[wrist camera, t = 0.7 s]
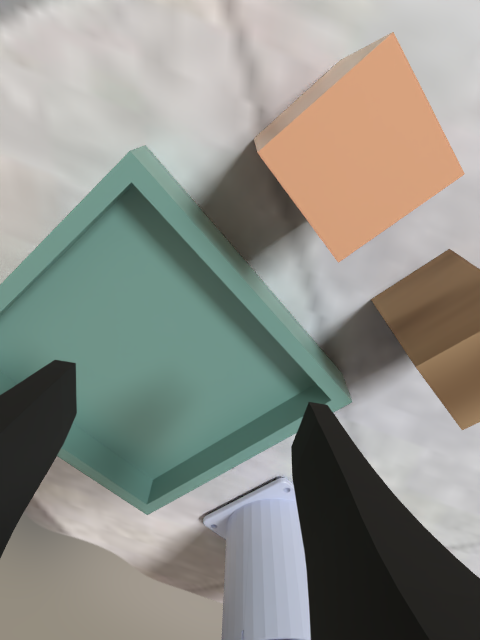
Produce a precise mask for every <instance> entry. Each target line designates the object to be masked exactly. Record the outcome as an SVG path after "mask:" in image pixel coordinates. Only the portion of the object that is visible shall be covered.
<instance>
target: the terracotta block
mask: <svg viewBox="0 0 480 640" xmlns="http://www.w3.org/2000/svg"><path fill="white" fill-rule="evenodd" d="M254 142H255V145H256V149H257V153H258V154H259V155H260V157H261V158H262V159H263V161H264V162H265V164H266V165H267V166H268V168H269V169H270V170H271V172H272V173H273V174H274V176H275V177H276V179H277V180H278V181H279V183H280V184H281V185H282V187H283V188H284V189H285V191H286V192H287V193H288V195H289V196H290V198H291V199H292V200H293V202H294V203H295V204H296V206H297V207H298V208H299V210H300V211H301V212H302V214H303V215H304V217H305V218H306V219H307V221H308V222H309V223H310V225H311V226H312V227H313V229H314V230H315V232H316V233H317V234H318V236H319V237H320V238H321V240H322V241H323V242H324V244H325V245H326V246H327V248H328V249H329V251H330V252H331V253H332V255H333V256H334V257H335V259H336V260H337V261H338V262H340V261H341V260H343V259H344V258H346V257H347V256H348V255H350V254H351V253H353V252H354V251H356V250H357V249H358V248H360V247H361V246H363V245H364V244H366V243H367V242H368V241H370V240H371V239H373V238H374V237H376V236H377V235H378V234H380V233H381V232H383V231H384V230H386V229H387V228H388V227H390V226H391V225H393V224H394V223H396V222H397V221H398V220H400V219H401V218H403V217H404V216H406V215H407V214H408V213H410V212H411V211H413V210H414V209H416V208H417V207H418V206H420V205H421V204H423V203H424V202H426V201H427V200H428V199H430V198H431V197H433V196H434V195H436V194H437V193H438V192H440V191H441V190H443V189H444V188H446V187H447V186H448V185H450V184H451V183H453V182H454V181H456V180H457V179H458V178H460V177H461V176H463V175H464V172H463V170H462V168H461V166H460V164H459V162H458V160H457V158H456V156H455V154H454V152H453V150H452V148H451V146H450V144H449V142H448V140H447V138H446V136H445V134H444V132H443V130H442V128H441V126H440V124H439V122H438V120H437V118H436V116H435V114H434V112H433V110H432V108H431V106H430V104H429V102H428V100H427V98H426V96H425V94H424V92H423V90H422V88H421V86H420V84H419V82H418V80H417V78H416V76H415V74H414V72H413V70H412V68H411V66H410V64H409V62H408V60H407V58H406V56H405V54H404V52H403V50H402V48H401V46H400V44H399V42H398V40H397V38H396V36H395V34H394V33H393V32H392V33H390V34H389V35H387V36H385V37H383V38H381V39H379V40H377V41H375V42H373V43H372V44H370V45H368V46H366V47H364V48H362V49H360V50H358V51H356V52H355V53H353V54H351V55H349V56H347V57H345V58H343V59H341V60H340V61H339V62H338V63H337V64H336V65H335V66H333V67H332V68H331V69H330V70H329V71H328V72H327V73H326V74H325V75H324V76H322V77H321V78H320V79H319V80H318V81H317V82H316V83H315V84H314V85H312V86H311V87H310V88H309V89H308V90H307V91H306V92H305V93H304V94H303V95H301V96H300V97H299V98H298V99H297V100H296V101H295V102H294V103H293V104H291V105H290V106H289V107H288V108H287V109H286V110H285V111H284V112H283V113H282V114H280V115H279V116H278V117H277V118H276V119H275V120H274V121H273V122H272V123H270V124H269V125H268V126H267V127H266V128H265V129H264V130H263V131H262V132H261V133H259V134H258V135H257V136H256V137H255V138H254Z"/></svg>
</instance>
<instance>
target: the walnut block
mask: <svg viewBox="0 0 480 640" xmlns="http://www.w3.org/2000/svg"><path fill="white" fill-rule="evenodd" d="M371 300H372V302H373V303H374V305H375V306H376V308H377V309H378V311H379V313H380V314H381V316H382V317H383V319H384V320H385V322H386V323H387V325H388V326H389V328H390V329H391V331H392V332H393V334H394V335H395V337H396V338H397V340H398V341H399V343H400V344H401V346H402V347H403V349H404V350H405V352H406V353H407V355H408V356H409V358H410V359H411V361H412V362H413V364H414V365H415V367H416V368H417V370H418V371H419V372H420V374H421V375H422V376H423V378H424V379H425V380H426V382H427V383H428V384H429V386H430V387H431V389H432V390H433V391H434V393H435V394H436V395H437V397H438V398H439V399H440V401H441V402H442V404H443V405H444V406H445V408H446V409H447V410H448V412H449V413H450V414H451V416H452V417H453V418H454V420H455V421H456V423H457V424H458V425H459V427H460V428H461V429H462V430H464V429H466V428H468V427H470V426H472V425H474V424H476V423H479V422H480V269H478V268H477V267H475V266H474V265H473V264H471V263H470V262H468V261H467V260H465V259H464V258H462V257H461V256H459V255H458V254H456V253H455V252H453V251H452V250H450V249H449V250H447V251H445V252H444V253H442V254H441V255H439V256H438V257H436V258H435V259H433V260H431V261H430V262H428V263H427V264H425V265H424V266H422V267H421V268H419V269H417V270H416V271H414V272H413V273H411V274H410V275H408V276H407V277H405V278H403V279H402V280H400V281H399V282H397V283H396V284H394V285H393V286H391V287H389V288H388V289H386V290H385V291H383V292H382V293H380V294H379V295H377V296H375V297H374V298H372V299H371Z"/></svg>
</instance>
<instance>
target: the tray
mask: <svg viewBox="0 0 480 640" xmlns="http://www.w3.org/2000/svg"><path fill="white" fill-rule="evenodd" d="M54 360H60V361H67V362H73V363H76V397H77V414H76V417H75V419H74V421H73V424H72V426H71V429H70V431H69V433H68V435H67V438H66V440H65V442H64V444H63V446H62V448H61V450H60V451H59V453H58V455H57V456H58V457H60V458H61V459H63V460H64V461H66V462H67V463H69V464H70V465H72V466H73V467H75V468H76V469H78V470H79V471H81V472H82V473H84V474H85V475H87V476H88V477H90V478H92V479H93V480H95V481H96V482H98V483H99V484H101V485H102V486H104V487H105V488H107V489H108V490H110V491H111V492H113V493H114V494H116V495H117V496H119V497H120V498H122V499H123V500H125V501H127V502H128V503H130V504H131V505H133V506H134V507H136V508H137V509H139V510H140V511H142V512H143V513H145V514H146V515H148V514H150V513H152V512H154V511H156V510H157V509H159V508H161V507H163V506H165V505H167V504H168V503H170V502H172V501H174V500H176V499H177V498H179V497H181V496H183V495H185V494H186V493H188V492H190V491H192V490H194V489H196V488H197V487H199V486H201V485H203V484H205V483H206V482H208V481H210V480H212V479H214V478H215V477H217V476H219V475H221V474H223V473H225V472H226V471H228V470H230V469H232V468H234V467H235V466H237V465H239V464H241V463H243V462H244V461H246V460H248V459H250V458H252V457H254V456H255V455H257V454H259V453H261V452H263V451H264V450H266V449H268V448H270V447H272V446H273V445H275V444H277V443H279V442H281V441H283V440H284V439H286V438H288V437H290V436H292V435H293V434H295V433H297V431H298V429H299V426H300V423H301V421H302V418H303V415H304V413H305V410H306V408H307V405H308V402H313V403H319V404H325V405H328V406H329V408H330V409H331V411H332V412H335V411H337V410H339V409H341V408H342V407H344V406H346V405H348V404H350V403H351V402H352V399H351V397H350V394H349V391H348V389H347V386H346V383H345V380H344V378H343V375H342V373H341V372H340V370H339V369H338V368H337V367H336V366H335V365H334V364H333V362H332V361H331V360H330V359H329V358H328V357H327V355H326V354H325V353H324V352H323V351H322V350H321V348H320V347H319V346H318V345H317V344H316V343H315V341H314V340H313V339H312V338H311V337H310V336H309V334H308V333H307V332H306V331H305V330H304V329H303V328H302V326H301V325H300V324H299V323H298V322H297V321H296V319H295V318H294V317H293V316H292V315H291V314H290V312H289V311H288V310H287V309H286V308H285V307H284V305H283V304H282V303H281V302H280V301H279V300H278V298H277V297H276V296H275V295H274V294H273V293H272V292H271V290H270V289H269V288H268V287H267V286H266V285H265V283H264V282H263V281H262V280H261V279H260V278H259V276H258V275H257V274H256V273H255V272H254V271H253V269H252V268H251V267H250V266H249V265H248V264H247V263H246V261H245V260H244V259H243V258H242V257H241V256H240V254H239V253H238V252H237V251H236V250H235V249H234V247H233V246H232V245H231V244H230V243H229V242H228V240H227V239H226V238H225V237H224V236H223V235H222V233H221V232H220V231H219V230H218V229H217V228H216V227H215V225H214V224H213V223H212V222H211V221H210V220H209V218H208V217H207V216H206V215H205V214H204V213H203V211H202V210H201V209H200V208H199V207H198V206H197V204H196V203H195V202H194V201H193V200H192V199H191V197H190V196H189V195H188V194H187V193H186V192H185V191H184V189H183V188H182V187H181V186H180V185H179V184H178V182H177V181H176V180H175V179H174V178H173V177H172V175H171V174H170V173H169V172H168V171H167V170H166V168H165V167H164V166H163V165H162V164H161V163H160V162H159V160H158V159H157V158H156V157H155V156H154V155H153V153H152V152H151V151H150V150H149V149H148V148H147V146H146V145H145V146H142V147H140V148H137V149H134V150H131V151H129V152H128V153H127V155H126V156H125V157H124V158H123V159H122V160H121V161H120V162H119V163H118V164H117V165H116V166H115V167H114V168H113V169H112V170H111V171H110V172H109V173H108V174H107V175H106V176H105V177H104V178H103V179H102V180H101V181H100V182H99V183H98V184H97V186H96V187H95V188H94V189H93V190H92V191H91V192H90V193H89V194H88V195H87V196H86V197H85V198H84V199H83V200H82V201H81V202H80V203H79V204H78V205H77V206H76V207H75V208H74V209H73V210H72V211H71V212H70V213H69V214H68V215H67V216H66V218H65V219H64V220H63V221H62V222H61V223H60V224H59V225H58V226H57V227H56V228H55V229H54V230H53V231H52V232H51V233H50V234H49V235H48V236H47V237H46V238H45V239H44V240H43V241H42V242H41V243H40V244H39V245H38V246H37V247H36V249H35V250H34V251H33V252H32V253H31V254H30V255H29V256H28V257H27V258H26V259H25V260H24V261H23V262H22V263H21V264H20V265H19V266H18V267H17V268H16V269H15V270H14V271H13V272H12V273H11V274H10V275H9V276H8V277H7V278H6V280H5V281H4V282H3V283H2V284H1V285H0V395H1V394H3V393H4V392H6V391H8V390H9V389H11V388H12V387H14V386H15V385H17V384H18V383H20V382H21V381H23V380H24V379H26V378H28V377H29V376H31V375H32V374H34V373H35V372H37V371H38V370H40V369H41V368H43V367H44V366H46V365H47V364H49V363H51V362H52V361H54Z"/></svg>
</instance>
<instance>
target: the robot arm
mask: <svg viewBox="0 0 480 640" xmlns="http://www.w3.org/2000/svg"><path fill="white" fill-rule="evenodd" d="M76 414H77V397H76V363H73V362H67V361H60V360H54V361H52V362H51V363H49V364H47V365H46V366H44V367H43V368H41V369H40V370H38V371H37V372H35V373H34V374H32V375H31V376H29V377H28V378H26V379H24V380H23V381H21V382H20V383H18V384H17V385H15V386H14V387H12V388H11V389H9V390H8V391H6V392H4V393H3V394H1V395H0V558H1V556H2V553H3V551H4V549H5V547H6V545H7V543H8V541H9V539H10V537H11V534H12V532H13V530H14V529H15V527H16V525H17V523H18V521H19V519H20V517H21V516H22V514H23V512H24V511H25V509H26V507H27V506H28V504H29V502H30V500H31V499H32V497H33V495H34V494H35V492H36V490H37V489H38V487H39V485H40V484H41V482H42V480H43V479H44V477H45V475H46V474H47V472H48V470H49V468H50V467H51V465H52V463H53V462H54V460H55V458H56V456H57V455H58V453H59V451H60V450H61V448H62V446H63V444H64V442H65V440H66V438H67V435H68V433H69V431H70V429H71V426H72V424H73V421H74V419H75V417H76ZM291 448H292V476H293V484H294V485H293V484H292V483H291V482H290V481H289V480H288V479H286V478H279V479H277V480H275V481H273V482H271V483H269V484H267V485H265V486H263V487H261V488H259V489H257V490H255V491H253V492H251V493H249V494H247V495H245V496H243V497H242V498H240V499H238V500H236V501H234V502H232V503H230V504H228V505H226V506H224V507H222V508H220V509H218V510H216V511H214V512H212V513H210V514H208V515H206V516H205V517H204V518H203V524H204V525H205V526H206V527H208V528H209V529H211V530H212V531H214V532H215V533H216V534H218V535H219V536H221V537H222V538H224V539H225V540H226V555H225V577H224V599H223V622H222V640H480V578H478V577H477V576H476V575H475V574H474V573H473V572H471V571H470V570H469V569H468V568H467V567H466V566H465V565H464V564H463V563H461V562H460V561H459V560H458V559H457V558H456V557H455V556H454V555H453V554H452V553H451V552H449V551H448V550H447V549H446V548H445V547H444V546H443V545H442V544H441V543H440V542H439V541H438V540H437V539H436V538H435V537H434V536H433V535H432V534H431V533H430V532H429V531H428V530H427V529H426V528H425V527H424V526H423V525H422V524H421V523H420V522H419V521H418V520H417V519H416V518H415V517H414V516H413V515H412V514H411V512H410V511H409V510H408V509H407V508H406V507H405V506H404V505H403V504H402V503H401V502H400V501H399V499H398V498H397V497H396V496H395V495H394V494H393V492H392V491H391V490H390V489H389V488H388V486H387V485H386V484H385V483H384V482H383V480H382V479H381V478H380V477H379V475H378V474H377V473H376V472H375V470H374V469H373V468H372V467H371V465H370V464H369V463H368V461H367V460H366V459H365V457H364V456H363V455H362V453H361V452H360V451H359V449H358V448H357V446H356V445H355V444H354V442H353V441H352V439H351V438H350V437H349V435H348V434H347V432H346V431H345V429H344V428H343V427H342V425H341V424H340V422H339V421H338V419H337V418H336V416H335V415H334V413H333V412H332V411H331V409H330V408H329V406H328V405H325V404H319V403H313V402H308V405H307V408H306V410H305V413H304V415H303V418H302V421H301V423H300V426H299V429H298V431H297V434H296V436H295V439H294V442H293V444H292V447H291Z"/></svg>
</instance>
